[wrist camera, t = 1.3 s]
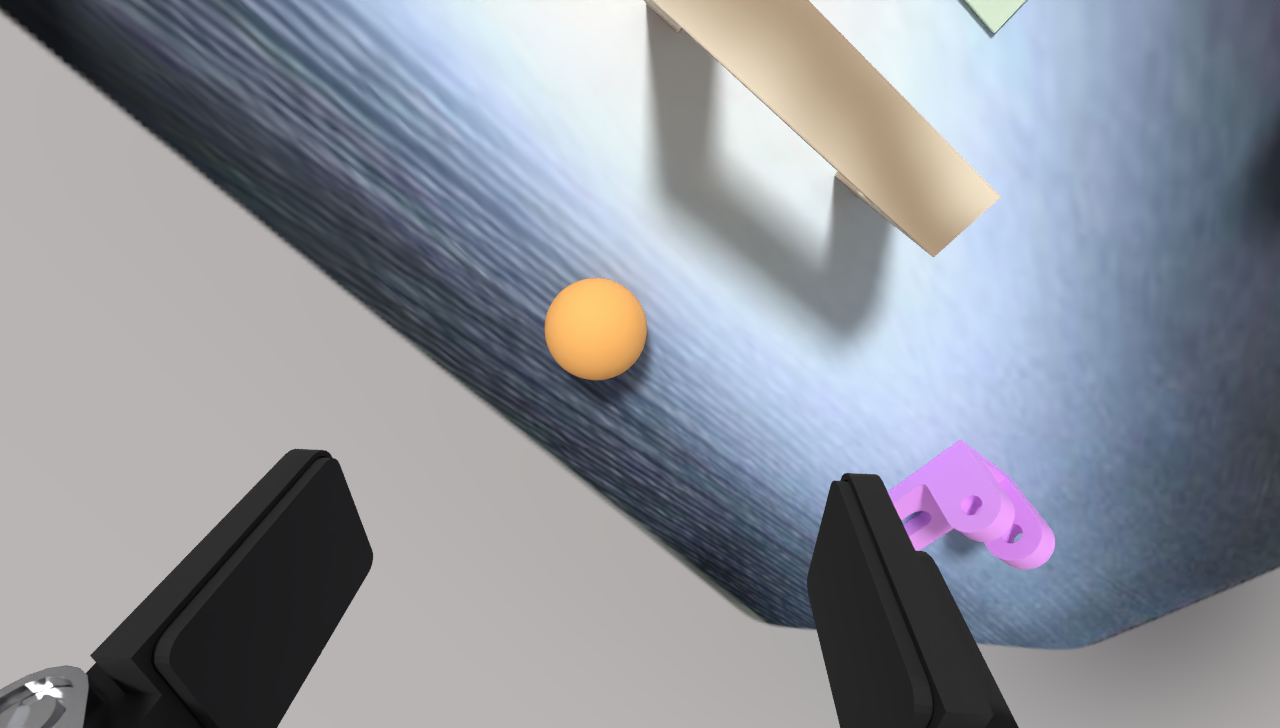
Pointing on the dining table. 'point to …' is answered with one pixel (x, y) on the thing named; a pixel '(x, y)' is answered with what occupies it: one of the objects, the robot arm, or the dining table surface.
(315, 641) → the robot arm
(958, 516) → the bracket
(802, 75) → the bridge
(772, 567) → the dining table surface
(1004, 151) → the dining table surface
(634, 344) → the ball
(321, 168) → the dining table surface
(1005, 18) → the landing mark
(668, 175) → the dining table surface
